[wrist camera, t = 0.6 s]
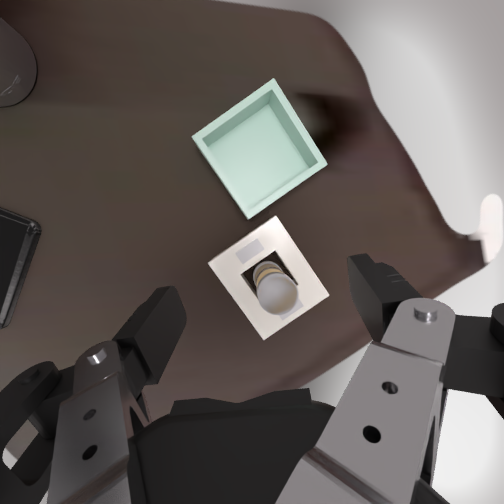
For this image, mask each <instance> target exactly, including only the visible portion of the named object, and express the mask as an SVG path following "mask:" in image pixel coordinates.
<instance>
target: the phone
mask: <svg viewBox="0 0 504 504" xmlns="http://www.w3.org/2000/svg"><path fill="white" fill-rule="evenodd" d="M40 235H41V227H40V225H39V224H38V223H37V222H35V221H33V220H31V219H28V218H26V217H23V216H21V215H18V214H16V213H13V212H11V211H8V210H6V209H3V208H1V207H0V329H2V328H4V327H6V326H8V325H9V323H10V320H11V318H12V315H13V312H14V309H15V306H16V303H17V300H18V297H19V295H20V292H21V289H22V286H23V283H24V280H25V277H26V275H27V272H28V269H29V266H30V263H31V260H32V257H33V255H34V252H35V249H36V246H37V243H38V240H39V237H40Z"/></svg>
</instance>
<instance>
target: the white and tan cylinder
mask: <svg viewBox="0 0 504 504" xmlns="http://www.w3.org/2000/svg"><path fill="white" fill-rule="evenodd" d="M253 280H254V283H255V285H256V287H257V296H258V300H259V303H260V305H261V307H262V308H263V309H264V310H265V311H266V312H268V313H270V314H273V315H283V314H286V313H288V312H290V311H291V310H292V309H293V308H294V307H295V305H296V304H297V301H298V297H299V293H298V288H297V286H296V284H295V283H294V282H293V281H292V280H291V278H290V277H289V276H287V275H286V274H284V273H283V271H282V269H281V268H280V267H279V266H278V265H277V264H276V263H275V262H273V261H269V260H265V261H262V262H260V263H258V264H257V265H256V266H255V268H254V270H253Z"/></svg>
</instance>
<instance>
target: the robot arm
mask: <svg viewBox="0 0 504 504" xmlns="http://www.w3.org/2000/svg"><path fill="white" fill-rule="evenodd" d="M36 73H37V68H36V60H35V57H34V54H33V52H32V49H31V47H30V45H29V44H28V43H27V42H26V40H25V39H24V38H23V37H22V36H21V35H20V34H19V33H18V32H17V31H16V30H14V29H13V28H12V27H11V26H10V25H9V24H7V23H6V22H5V21H4V20H3V19H2V18H1V17H0V107H4V106H10V105H14V104H16V103H18V102H20V101H21V100H23V99H24V98H25V97H26V96H27V95H28V94H29V93H30V91H31V90H32V88H33V86H34V83H35V80H36ZM347 263H348V274H349V285H350V292H351V297H352V300H353V302H354V304H355V306H356V308H357V310H358V312H359V314H360V316H361V318H362V319H363V321H364V323H365V325H366V327H367V329H368V331H369V333H370V335H371V337H372V339H373V341H372V342H371V343H370V345H369V346H368V348H367V350H366V352H365V354H364V356H363V358H362V360H361V362H360V364H359V365H358V367H357V369H356V371H355V373H354V375H353V377H352V378H351V380H350V382H349V384H348V386H347V388H346V390H345V391H344V393H343V396H342V397H341V399H340V401H339V403H338V405H337V406H336V407H333V406H331V405H328V404H326V403H322V402H319V401H313V400H311V395H310V390H309V388H305V389H294V390H284V391H274V392H271V393H268V394H265V395H262V396H259V397H256V398H253V399H250V400H247V401H244V402H241V403H232V402H226V401H221V400H215V399H209V398H199V399H188V400H178V401H174V404H173V407H172V409H171V412H170V414H167V415H165V416H163V417H161V418H159V419H157V420H155V421H154V422H152V419H151V416H150V412H149V408H148V405H147V401H146V397H145V395H144V393H143V391H142V389H143V387H144V385H153V384H158V382H159V380H160V378H161V376H162V374H163V372H164V369H165V367H166V365H167V363H168V361H169V359H170V357H171V355H172V353H173V351H174V348H175V346H176V344H177V342H178V340H179V338H180V336H181V334H182V332H183V330H184V327H185V325H186V313H185V310H184V307H183V305H182V302H181V300H180V297H179V294H178V292H177V290H176V288H175V287H174V286H167V287H161V288H157V289H156V290H155V291H154V292H153V294H152V295H151V296H150V297H149V299H148V300H147V301H146V302H144V303H143V304H142V305H140V306H139V307H138V308H137V310H136V311H135V312H134V313H133V316H131V317H130V318H129V319H128V322H126V323H125V324H124V325H123V327H122V328H121V329H120V330H119V332H118V333H117V334H116V335H115V336H114V338H113V339H112V340H110V341H104V342H101V343H99V344H96V345H95V346H93V347H91V348H89V349H88V350H87V351H85V352H84V353H83V354H82V355H81V356H80V357H79V358H78V360H77V361H76V363H75V365H74V366H71V367H68V368H66V369H63V370H60V371H59V370H58V369H57V367H56V366H55V364H54V363H53V362H51V361H46V362H42V363H39V364H37V365H34V366H32V367H30V368H29V369H27V370H25V371H24V372H22V373H21V374H19V375H18V376H17V377H16V378H15V379H13V380H12V381H11V382H10V383H9V384H8V385H7V386H6V387H5V388H4V389H3V390H2V391H1V392H0V504H39V503H40V502H41V500H42V498H43V497H44V495H45V493H46V492H47V490H48V489H49V491H48V498H47V504H450V503H448V502H447V501H446V500H445V499H444V498H443V497H442V496H441V495H439V494H438V493H437V492H436V491H435V490H434V489H433V488H432V481H433V476H434V470H435V464H436V456H437V449H438V443H439V437H440V431H441V427H442V422H443V416H444V411H445V406H446V400H447V395H448V390H449V389H452V390H458V391H464V392H470V393H475V394H482V395H485V396H486V397H487V398H488V400H489V401H490V402H491V404H492V405H493V406H494V407H495V409H496V410H497V411H498V413H499V414H500V415H501V416H502V418H503V419H504V303H502V304H498V305H497V306H495V307H494V308H493V309H492V315H491V317H476V316H462V315H456V314H455V313H454V311H453V310H452V309H451V308H450V307H449V306H447V305H446V304H444V303H441V302H439V301H436V300H432V299H427V298H423V297H422V296H421V295H420V294H419V293H418V292H417V291H416V290H415V289H414V288H413V287H412V286H411V285H410V284H409V283H408V282H407V281H405V279H404V278H403V277H402V276H401V275H400V274H399V273H398V272H397V271H396V270H395V269H394V268H393V267H392V266H389V265H387V264H385V263H382V262H381V263H375V262H374V261H373V260H372V259H371V258H370V257H369V256H368V254H366V253H365V254H360V255H354V256H348V258H347ZM27 419H28V420H29V421H30V422H31V424H32V425H33V426H34V427H35V428H36V430H37V431H38V432H39V433H38V434H37V436H36V437H35V438H34V440H33V441H32V442H31V444H30V445H29V446H28V448H27V449H26V450H25V451H24V453H23V454H22V455H21V457H20V458H19V459H18V461H17V462H16V463H15V465H14V466H13V467H12V469H11V470H10V469H9V468H8V467H7V466H6V465H5V464H4V462H3V459H2V455H3V451H4V448H5V446H6V445H7V443H8V442H9V440H10V439H11V438H12V437H13V436H14V435H15V433H16V432H17V431H18V430H19V429H20V427H21V426H22V425H23V424H24V423H25V421H26V420H27Z"/></svg>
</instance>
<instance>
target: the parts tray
mask: <svg viewBox="0 0 504 504" xmlns="http://www.w3.org/2000/svg"><path fill="white" fill-rule="evenodd" d="M192 138H193V140H194V142H195V144H196V145H197V147H198V149H199V150H200V152H201V153H202V155H203V156H204V157H205V159H206V160H207V162H208V163H209V165H210V166H211V168H212V169H213V171H214V172H215V173H216V175H217V176H218V178H219V179H220V181H221V182H222V184H223V185H224V187H225V188H226V189H227V191H228V192H229V194H230V195H231V197H232V198H233V200H234V201H235V203H236V204H237V205H238V207H239V208H240V210H241V211H242V213H243V214H244V216H245V217H246V219H247V220H248V219H250V218H251V217H253V216H254V215H256V214H257V213H258V212H260V211H261V210H263V209H264V208H266V207H267V206H269V205H270V204H271V203H273V202H274V201H276V200H277V199H279V198H280V197H281V196H283V195H284V194H286V193H287V192H289V191H290V190H291V189H293V188H294V187H296V186H297V185H299V184H300V183H301V182H303V181H304V180H306V179H307V178H309V177H310V176H311V175H313V174H314V173H316V172H317V171H319V170H320V169H322V168H323V167H324V166H326V165H327V163H326V161H325V159H324V158H323V156H322V154H321V153H320V151H319V150H318V148H317V146H316V145H315V143H314V142H313V140H312V138H311V137H310V135H309V134H308V132H307V130H306V129H305V127H304V126H303V124H302V122H301V121H300V119H299V118H298V116H297V114H296V113H295V111H294V110H293V108H292V106H291V105H290V103H289V102H288V100H287V98H286V97H285V95H284V94H283V92H282V90H281V89H280V87H279V86H278V84H277V82H276V81H275V79H274V78H273V79H272V80H271V81H269V82H268V83H266V84H265V85H264V86H262V87H261V88H259V89H258V90H257V91H255V92H254V93H252V94H251V95H249V96H248V97H247V98H245V99H244V100H242V101H241V102H240V103H238V104H237V105H235V106H234V107H233V108H231V109H230V110H228V111H227V112H226V113H224V114H223V115H221V116H220V117H219V118H217V119H216V120H214V121H213V122H212V123H210V124H209V125H207V126H206V127H205V128H203V129H202V130H200V131H199V132H197V133H196V134H195V135H193V136H192Z"/></svg>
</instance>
